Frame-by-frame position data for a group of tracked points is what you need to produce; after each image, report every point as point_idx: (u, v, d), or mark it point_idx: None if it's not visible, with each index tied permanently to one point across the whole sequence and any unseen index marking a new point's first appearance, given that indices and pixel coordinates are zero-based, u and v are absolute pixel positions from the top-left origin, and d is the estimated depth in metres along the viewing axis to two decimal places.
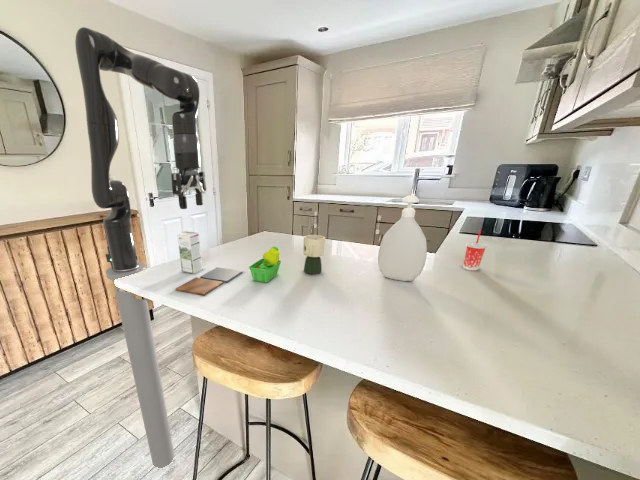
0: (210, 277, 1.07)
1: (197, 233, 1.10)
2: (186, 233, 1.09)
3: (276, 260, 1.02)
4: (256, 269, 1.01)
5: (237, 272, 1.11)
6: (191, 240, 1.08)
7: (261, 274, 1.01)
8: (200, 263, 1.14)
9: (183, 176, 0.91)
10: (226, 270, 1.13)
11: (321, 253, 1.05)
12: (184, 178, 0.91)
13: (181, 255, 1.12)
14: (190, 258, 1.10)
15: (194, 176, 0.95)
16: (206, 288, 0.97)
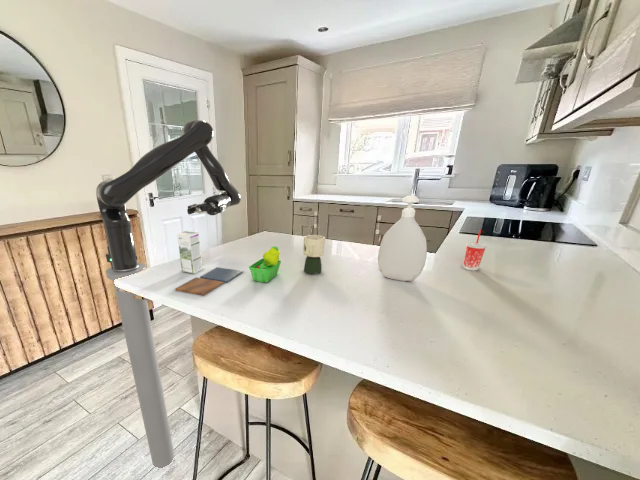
0: (210, 277, 1.07)
1: (197, 233, 1.10)
2: (186, 233, 1.09)
3: (276, 260, 1.02)
4: (256, 269, 1.01)
5: (237, 272, 1.11)
6: (191, 240, 1.08)
7: (261, 274, 1.01)
8: (200, 263, 1.14)
9: None
10: (226, 270, 1.13)
11: (321, 253, 1.05)
12: None
13: (181, 255, 1.12)
14: (190, 258, 1.10)
15: (207, 211, 1.25)
16: (206, 288, 0.97)
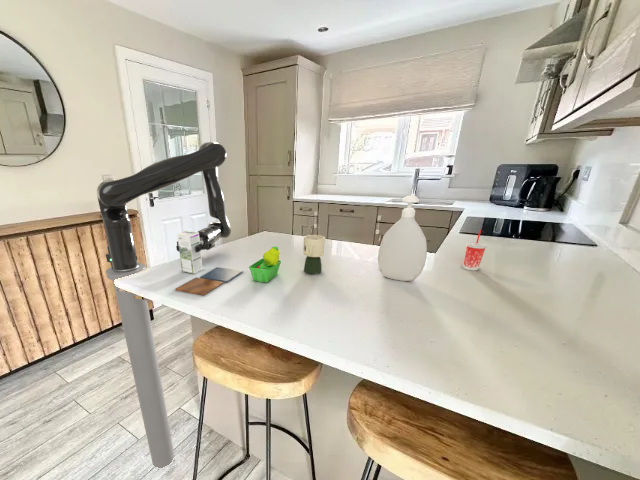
0: (210, 277, 1.07)
1: (197, 233, 1.10)
2: (186, 233, 1.09)
3: (276, 260, 1.02)
4: (256, 269, 1.01)
5: (237, 272, 1.11)
6: (191, 240, 1.08)
7: (261, 274, 1.01)
8: (200, 263, 1.14)
9: None
10: (226, 270, 1.13)
11: (321, 253, 1.05)
12: None
13: (181, 255, 1.11)
14: (190, 258, 1.10)
15: None
16: (206, 288, 0.97)
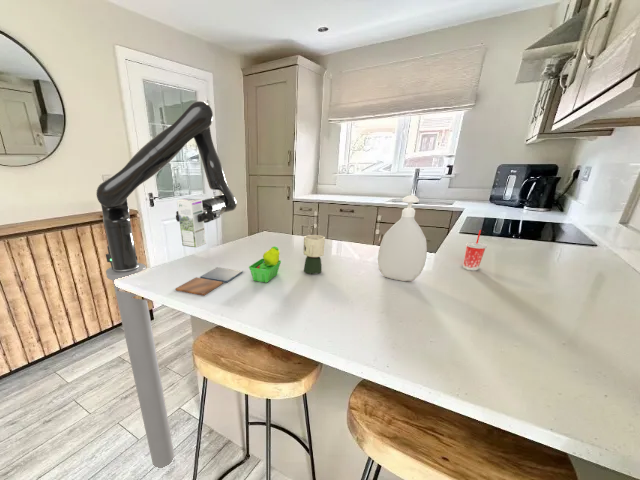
0: (210, 277, 1.07)
1: (200, 200, 0.95)
2: (187, 200, 0.94)
3: (276, 260, 1.02)
4: (256, 269, 1.01)
5: (237, 272, 1.11)
6: (193, 207, 0.93)
7: (261, 274, 1.01)
8: (203, 236, 1.00)
9: None
10: (226, 270, 1.13)
11: (321, 253, 1.05)
12: None
13: (181, 226, 0.97)
14: (192, 229, 0.95)
15: None
16: (206, 288, 0.97)
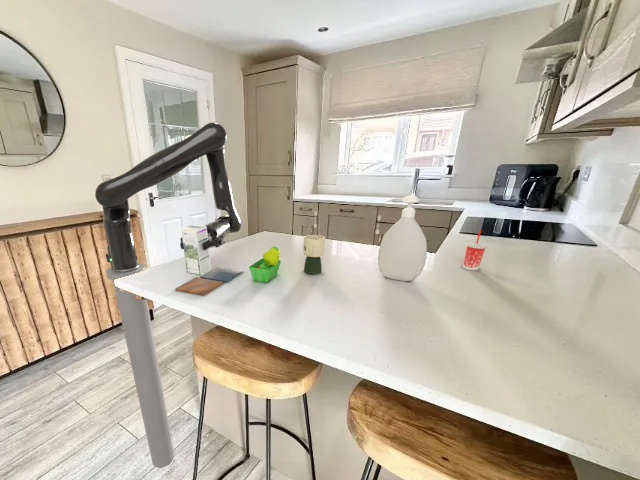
0: (210, 277, 1.07)
1: (205, 228, 0.93)
2: (192, 228, 0.92)
3: (276, 260, 1.02)
4: (256, 269, 1.01)
5: (237, 272, 1.11)
6: (198, 236, 0.91)
7: (261, 274, 1.01)
8: (208, 263, 0.98)
9: None
10: (226, 270, 1.13)
11: (321, 253, 1.05)
12: None
13: (185, 254, 0.95)
14: (197, 257, 0.93)
15: None
16: (206, 288, 0.97)
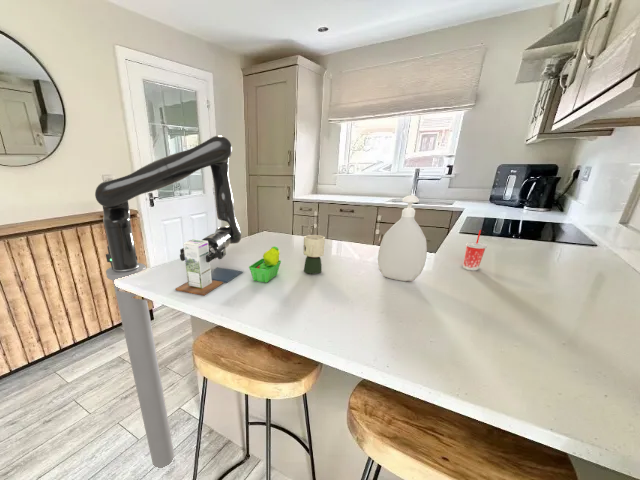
0: None
1: (206, 242, 0.95)
2: (193, 242, 0.94)
3: (276, 260, 1.02)
4: (256, 269, 1.01)
5: (237, 272, 1.11)
6: (199, 250, 0.93)
7: (261, 274, 1.01)
8: (209, 276, 1.00)
9: None
10: (226, 270, 1.13)
11: (321, 253, 1.05)
12: None
13: (187, 268, 0.97)
14: (198, 271, 0.95)
15: None
16: (206, 288, 0.97)
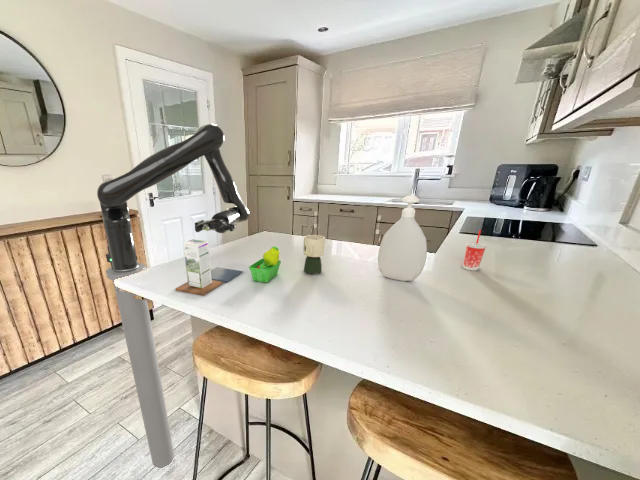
0: None
1: (206, 242, 0.95)
2: (193, 242, 0.94)
3: (276, 260, 1.02)
4: (256, 269, 1.01)
5: (237, 272, 1.11)
6: (199, 250, 0.93)
7: (261, 274, 1.01)
8: (209, 276, 1.00)
9: None
10: (226, 270, 1.13)
11: (321, 253, 1.05)
12: None
13: (187, 268, 0.97)
14: (198, 271, 0.95)
15: (216, 228, 1.13)
16: (206, 288, 0.97)
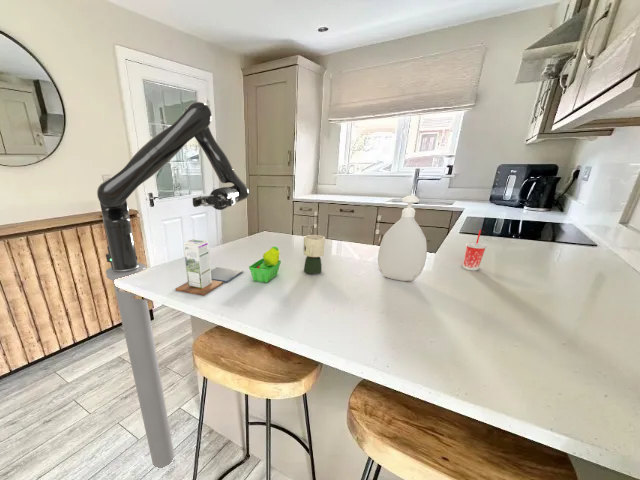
0: None
1: (206, 242, 0.95)
2: (193, 242, 0.94)
3: (276, 260, 1.02)
4: (256, 269, 1.01)
5: (237, 272, 1.11)
6: (199, 250, 0.93)
7: (261, 274, 1.01)
8: (209, 276, 1.00)
9: None
10: (226, 270, 1.13)
11: (321, 253, 1.05)
12: None
13: (187, 268, 0.97)
14: (198, 271, 0.95)
15: (214, 204, 1.10)
16: (206, 288, 0.97)
